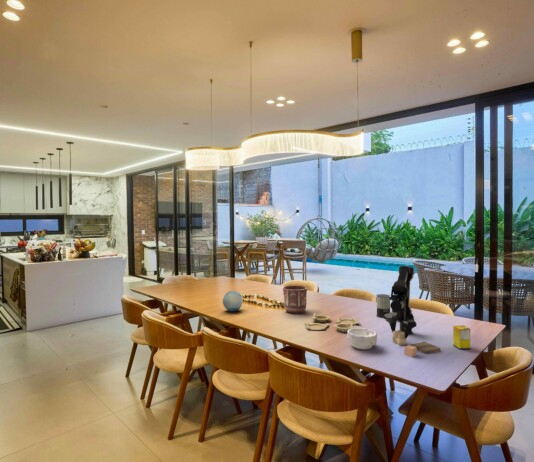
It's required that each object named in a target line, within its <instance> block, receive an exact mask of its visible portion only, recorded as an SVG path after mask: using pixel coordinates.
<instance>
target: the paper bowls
mask: <svg viewBox="0 0 534 462" xmlns="http://www.w3.org/2000/svg"><path fill="white" fill-rule="evenodd" d="M377 334H378V333H377V332H376V331H375V330H372V329H369V328H364V327H363V328H362V327H353V328H352V329H349V330H348V331H347V332H346V335H347V336H346V337H347V338H346V339H347V342H349V343H350V344H351V346H352V347H353V348H356V349H358V350H370V349H371V348H372V347H373V346H375V345H377V343H378V342H377V341H378V337H377V336H378V335H377Z"/></svg>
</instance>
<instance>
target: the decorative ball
mask: <svg viewBox="0 0 534 462" xmlns="http://www.w3.org/2000/svg"><path fill="white" fill-rule="evenodd" d="M243 302H244V300H243V296H242V294H241V293H239V292H238V291H236V290H235V291H234V290H231V291H227V292H226V293H225V294H224V296H223V298H222V305H223V307H224V308H225V310H227V311H229V312H237V311H238V310H240V309H241V307H242V306H243Z"/></svg>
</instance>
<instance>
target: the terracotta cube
mask: <svg viewBox="0 0 534 462" xmlns="http://www.w3.org/2000/svg"><path fill="white" fill-rule="evenodd" d="M417 351H418V350H417V347H414V346H411V344H408V345H406V346H404V355H405V356H408V357H411V358H414V357H416V356H417Z"/></svg>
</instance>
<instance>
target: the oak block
mask: <svg viewBox="0 0 534 462" xmlns="http://www.w3.org/2000/svg"><path fill="white" fill-rule="evenodd" d="M392 343H394V344H396V345H398V346H402V345H407V338H405V336H404V332H403V331H400V329H399V331H398V330H395V331H393V333H392Z"/></svg>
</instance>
